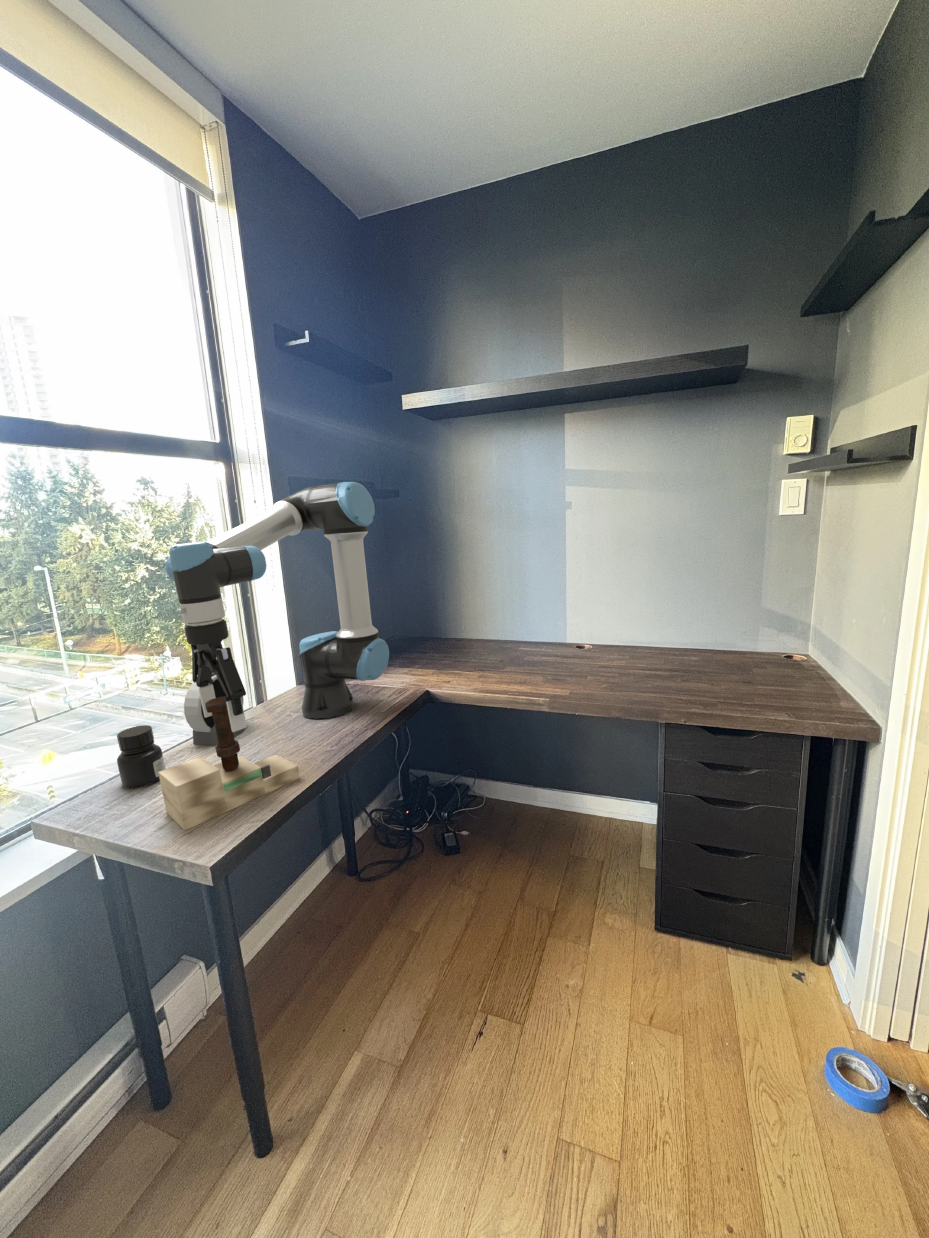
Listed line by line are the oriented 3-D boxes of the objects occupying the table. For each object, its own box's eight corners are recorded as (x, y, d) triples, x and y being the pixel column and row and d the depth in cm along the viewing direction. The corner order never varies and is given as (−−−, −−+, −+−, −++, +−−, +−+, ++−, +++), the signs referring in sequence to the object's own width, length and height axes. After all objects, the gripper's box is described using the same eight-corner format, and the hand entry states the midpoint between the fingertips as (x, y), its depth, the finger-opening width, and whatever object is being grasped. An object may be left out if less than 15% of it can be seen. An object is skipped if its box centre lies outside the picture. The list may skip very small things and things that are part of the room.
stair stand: (277, 766, 123) (271, 730, 122) (301, 779, 116) (295, 740, 114) (166, 813, 107) (158, 771, 105) (186, 831, 99) (177, 787, 98)
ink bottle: (171, 779, 122) (161, 730, 119) (127, 794, 116) (115, 743, 114) (161, 766, 129) (151, 720, 126) (118, 780, 123) (107, 732, 121)
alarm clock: (213, 749, 136) (200, 682, 133) (182, 747, 140) (169, 680, 136) (256, 724, 151) (245, 663, 148) (227, 722, 154) (217, 662, 151)
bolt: (249, 761, 113) (238, 695, 110) (240, 773, 108) (228, 703, 105) (222, 764, 113) (210, 697, 110) (212, 775, 108) (198, 706, 105)
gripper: (162, 620, 110) (183, 715, 115) (211, 632, 93) (233, 743, 98) (199, 612, 115) (218, 704, 120) (251, 622, 98) (271, 728, 103)
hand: (224, 722), depth 109 cm, fingers open, 13 cm apart
